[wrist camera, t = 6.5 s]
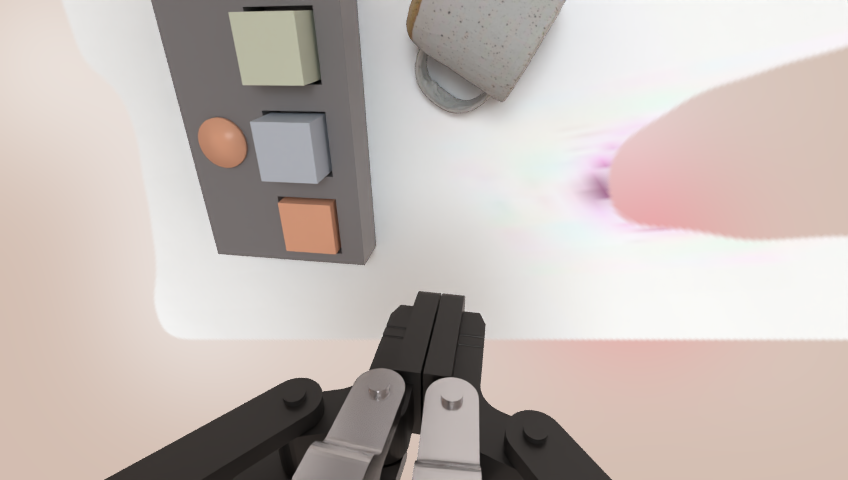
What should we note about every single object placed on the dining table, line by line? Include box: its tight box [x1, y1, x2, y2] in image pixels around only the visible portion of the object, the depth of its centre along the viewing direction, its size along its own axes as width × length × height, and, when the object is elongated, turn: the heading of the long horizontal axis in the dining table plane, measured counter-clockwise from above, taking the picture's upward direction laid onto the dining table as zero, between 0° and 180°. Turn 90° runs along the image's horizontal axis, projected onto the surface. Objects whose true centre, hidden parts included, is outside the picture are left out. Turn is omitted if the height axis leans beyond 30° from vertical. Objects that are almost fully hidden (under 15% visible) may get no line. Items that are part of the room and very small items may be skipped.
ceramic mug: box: [406, 0, 566, 113], centre depth 29 cm, size 11×8×8 cm
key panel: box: [151, 0, 376, 265], centre depth 37 cm, size 21×14×4 cm, turn 1°
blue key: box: [250, 112, 332, 184], centre depth 34 cm, size 4×4×3 cm
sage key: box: [228, 10, 321, 86], centre depth 31 cm, size 4×4×3 cm
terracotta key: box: [278, 197, 341, 254], centre depth 39 cm, size 4×4×3 cm
